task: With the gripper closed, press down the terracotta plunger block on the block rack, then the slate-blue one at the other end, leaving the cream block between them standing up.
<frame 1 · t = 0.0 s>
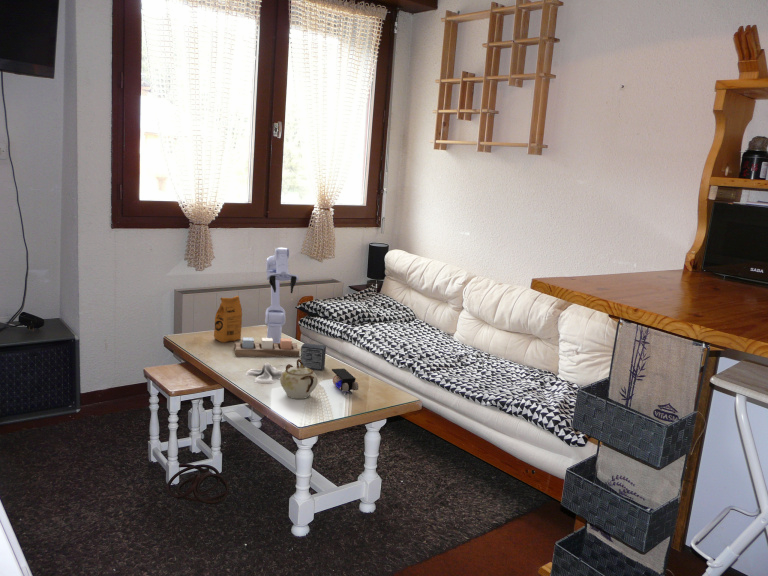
hand: (283, 291, 300), 32 cm above the table, tool tilted 50°, fingers open, 7 cm apart
slate block: (248, 342, 310), point 4 cm above the table, slide at 0.0 cm
small box: (312, 368, 298), on the table
coffee package: (227, 339, 329), on the table
sugar bowl: (297, 395, 262), on the table
block rack: (266, 352, 314), on the table
cloth: (270, 376, 282), on the table
cream block: (267, 343, 313), point 4 cm above the table, slide at 0.0 cm
figurine character: (343, 390, 273), on the table
terracotta block: (285, 343, 315), point 4 cm above the table, slide at 0.0 cm
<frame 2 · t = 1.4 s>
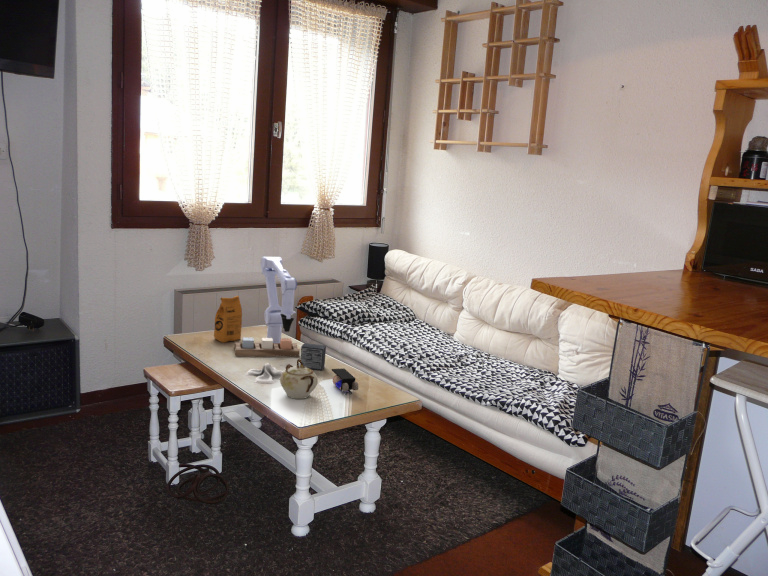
hand: (286, 329, 318), 10 cm above the table, tool pointing down, fingers open, 6 cm apart
nothing on the table moved.
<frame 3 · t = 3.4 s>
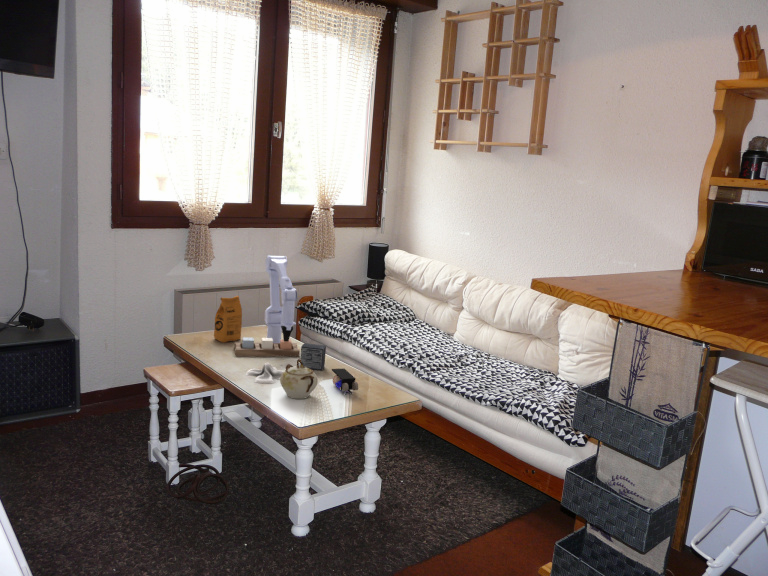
hand: (286, 341, 315), 6 cm above the table, tool pointing down, fingers closed, pressing on terracotta block
terracotta block: (285, 344, 315), point 4 cm above the table, slide at 0.6 cm, touching gripper
everything else where it was.
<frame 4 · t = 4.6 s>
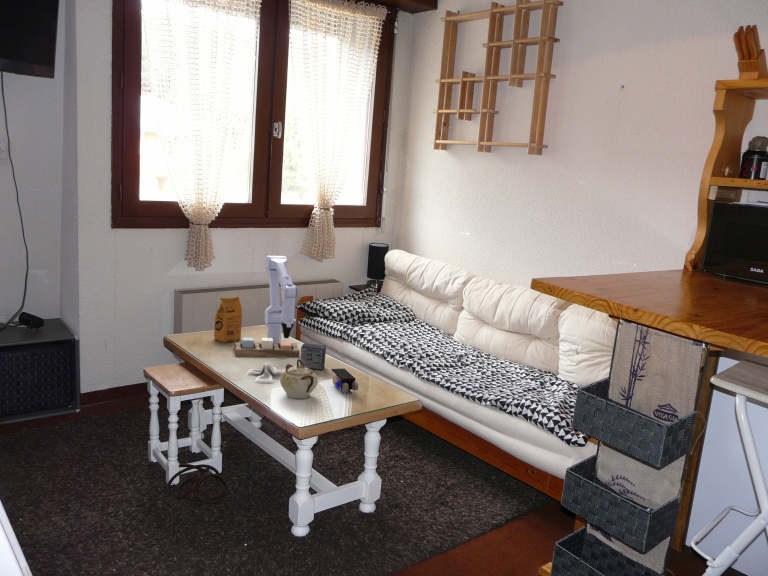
hand: (286, 337, 315), 7 cm above the table, tool pointing down, fingers closed
terracotta block: (285, 348, 316), point 2 cm above the table, slide at 2.2 cm
everything else where it was.
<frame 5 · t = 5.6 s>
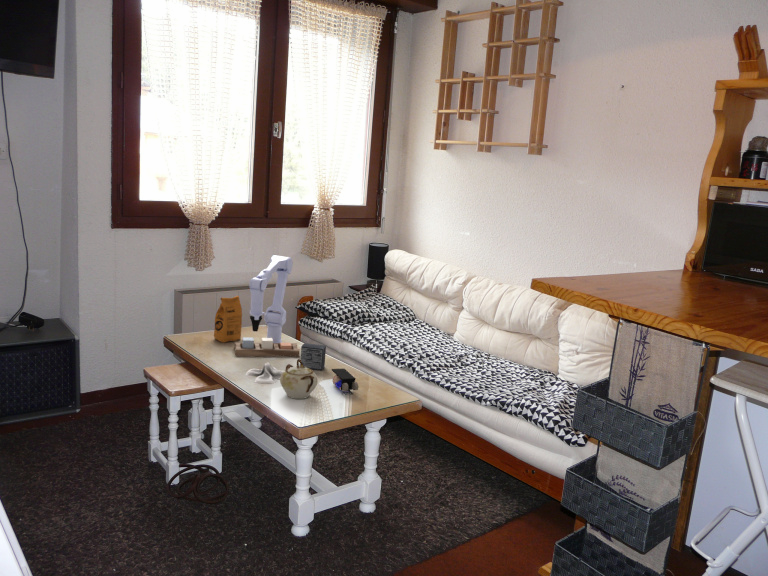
hand: (255, 331, 310), 10 cm above the table, tool pointing down, fingers closed
nothing on the table moved.
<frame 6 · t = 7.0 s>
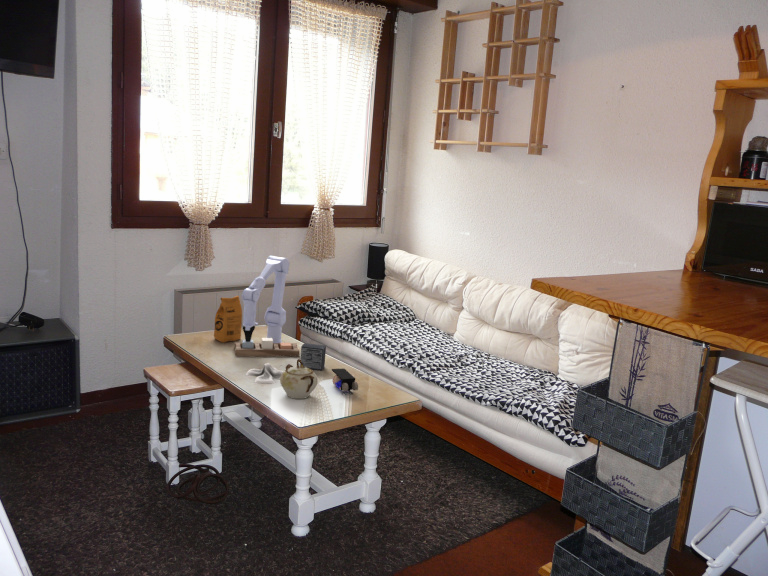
hand: (248, 341, 310), 5 cm above the table, tool pointing down, fingers closed, pressing on slate block
slate block: (247, 345, 311), point 3 cm above the table, slide at 1.2 cm, touching gripper
everything else where it was.
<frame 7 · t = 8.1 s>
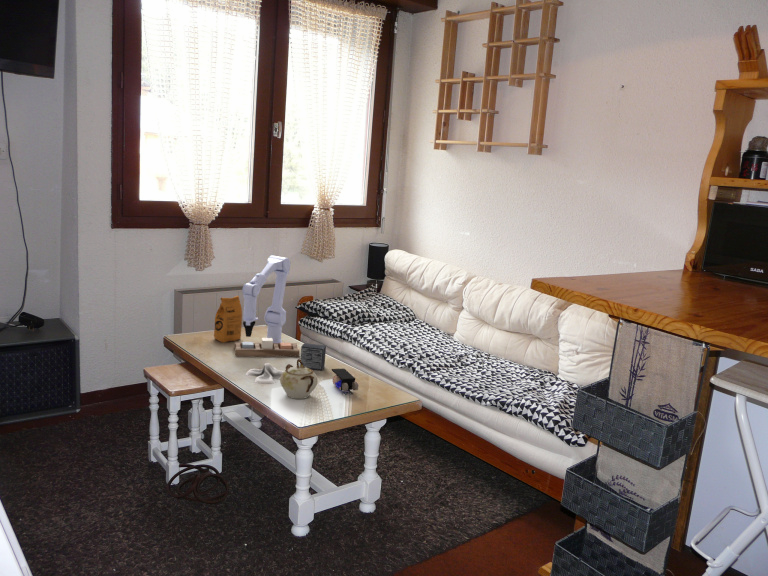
hand: (248, 336, 310), 8 cm above the table, tool pointing down, fingers closed
slate block: (247, 347, 311), point 2 cm above the table, slide at 2.2 cm
everything else where it was.
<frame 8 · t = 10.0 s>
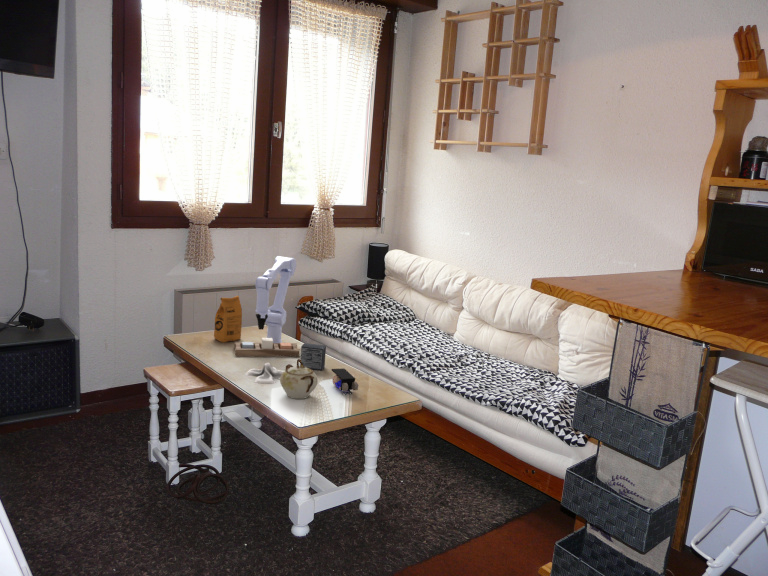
hand: (260, 329, 315), 10 cm above the table, tool pointing down, fingers closed
nothing on the table moved.
at the end: terracotta block slide at 2.2 cm; slate block slide at 2.2 cm; cream block slide at 0.0 cm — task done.
